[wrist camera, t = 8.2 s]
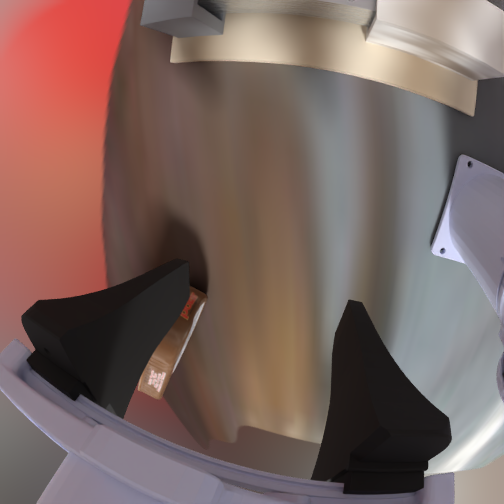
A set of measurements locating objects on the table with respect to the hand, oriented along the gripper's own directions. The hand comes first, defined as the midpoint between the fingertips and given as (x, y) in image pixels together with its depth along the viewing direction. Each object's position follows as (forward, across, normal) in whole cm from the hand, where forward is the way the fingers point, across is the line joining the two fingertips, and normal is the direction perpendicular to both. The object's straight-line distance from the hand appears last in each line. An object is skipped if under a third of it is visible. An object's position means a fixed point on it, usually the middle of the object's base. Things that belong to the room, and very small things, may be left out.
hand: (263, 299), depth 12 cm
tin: (+10, +9, +14) cm, 20 cm away
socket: (+10, +8, -16) cm, 21 cm away
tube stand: (+10, -1, -16) cm, 19 cm away
